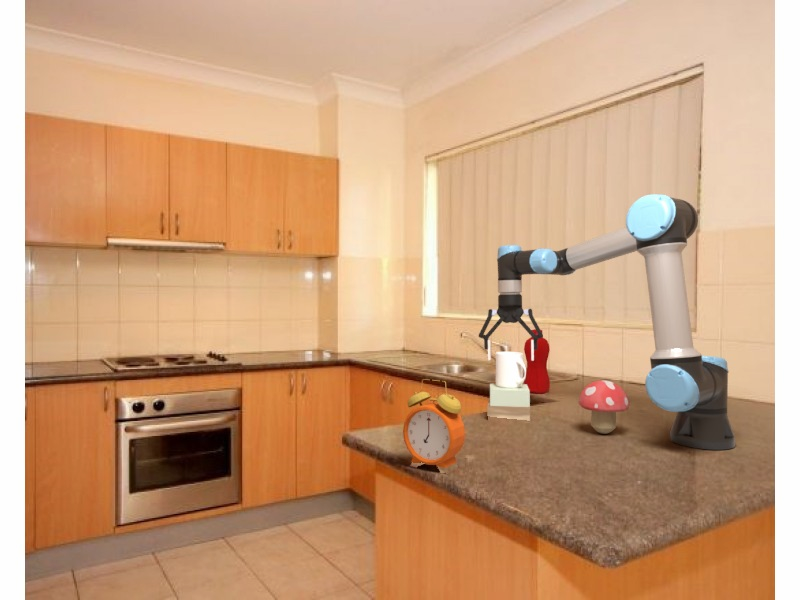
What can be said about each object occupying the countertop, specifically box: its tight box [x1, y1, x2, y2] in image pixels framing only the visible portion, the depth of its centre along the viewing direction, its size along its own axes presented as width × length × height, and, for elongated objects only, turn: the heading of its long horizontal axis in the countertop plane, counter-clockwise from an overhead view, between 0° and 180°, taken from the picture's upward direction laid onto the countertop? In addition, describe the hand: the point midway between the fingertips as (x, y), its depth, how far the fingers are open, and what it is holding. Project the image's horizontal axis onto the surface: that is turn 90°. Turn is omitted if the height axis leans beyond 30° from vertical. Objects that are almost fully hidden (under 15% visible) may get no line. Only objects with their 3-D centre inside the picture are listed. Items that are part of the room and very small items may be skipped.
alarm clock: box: [402, 378, 466, 468], centre depth 128 cm, size 13×6×20 cm, turn 56°
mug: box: [495, 351, 527, 388], centre depth 179 cm, size 9×12×11 cm
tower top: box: [489, 383, 531, 408], centre depth 180 cm, size 12×12×5 cm
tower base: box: [486, 398, 531, 422], centre depth 180 cm, size 13×13×5 cm
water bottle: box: [523, 328, 551, 395], centre depth 225 cm, size 9×11×25 cm
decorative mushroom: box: [578, 379, 630, 435], centre depth 158 cm, size 13×13×15 cm
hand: (510, 360), depth 180 cm, fingers open, 13 cm apart
